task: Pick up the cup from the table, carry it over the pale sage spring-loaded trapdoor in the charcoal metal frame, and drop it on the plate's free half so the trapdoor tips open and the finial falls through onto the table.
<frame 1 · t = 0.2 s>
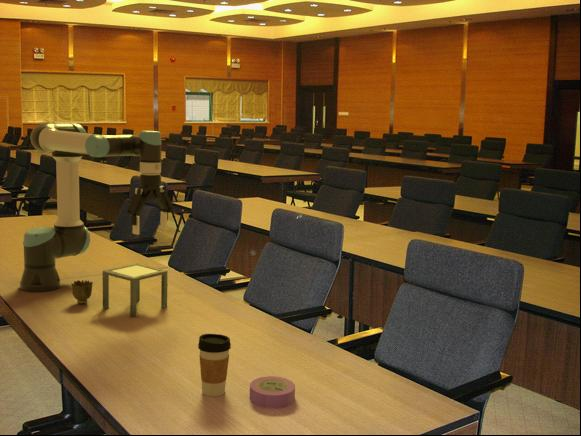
hand: (150, 231, 248), 27 cm above the table, tool pointing down, fingers open, 13 cm apart
masking tape: (272, 399, 176), on the table
coffee cup: (213, 392, 178), on the table
trapdoor: (135, 272, 245), point 13 cm above the table, hinge at -0.6°
cup: (82, 303, 250), on the table
trapdoor frame: (135, 308, 247), on the table
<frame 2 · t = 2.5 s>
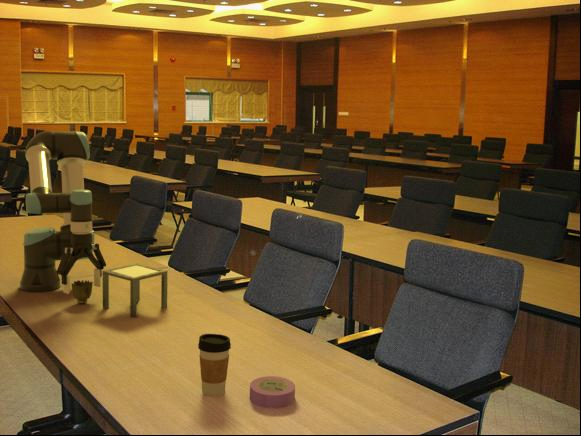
hand: (82, 289, 249), 5 cm above the table, tool pointing down, fingers open, 13 cm apart
trapdoor: (135, 272, 245), point 13 cm above the table, hinge at -1.0°
everything else where it was.
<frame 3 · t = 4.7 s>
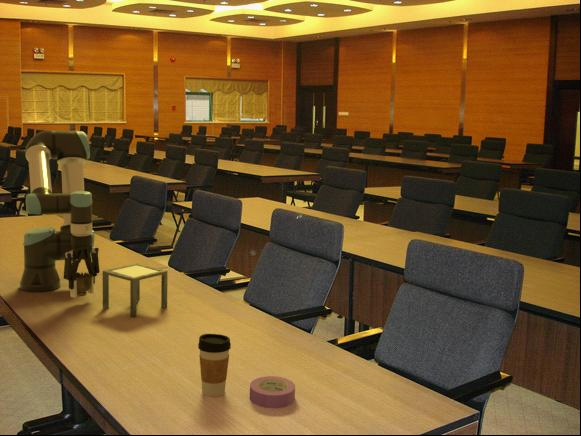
hand: (82, 294, 250), 3 cm above the table, tool pointing down, fingers closed on cup, 7 cm apart
cup: (81, 296, 250), point 3 cm above the table, touching gripper
everything else where it was.
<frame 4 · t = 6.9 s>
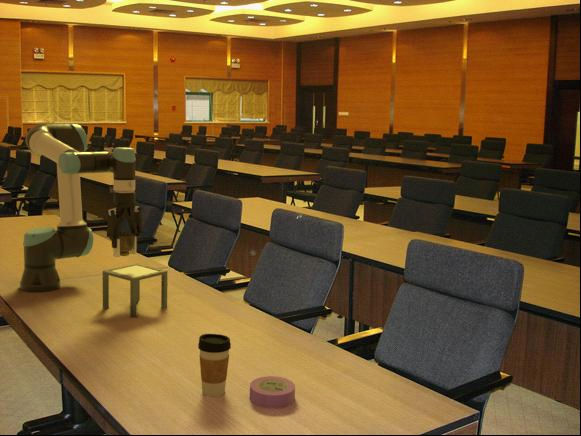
hand: (124, 255, 243), 20 cm above the table, tool pointing down, fingers closed on cup, 7 cm apart
cup: (124, 256, 243), point 19 cm above the table, touching gripper
everything else where it was.
when the fingers open (15 cm above the table, at t = 9.1 s): cup moves 3 cm, point 16 cm above the table.
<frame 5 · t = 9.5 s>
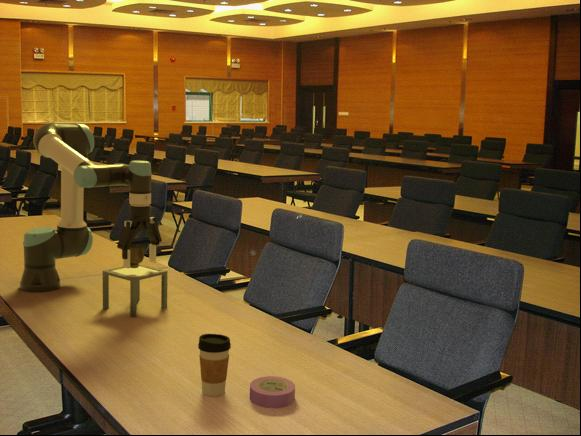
hand: (139, 264, 243), 17 cm above the table, tool pointing down, fingers open, 11 cm apart
cup: (133, 268, 241), point 16 cm above the table, touching gripper
everything else where it was.
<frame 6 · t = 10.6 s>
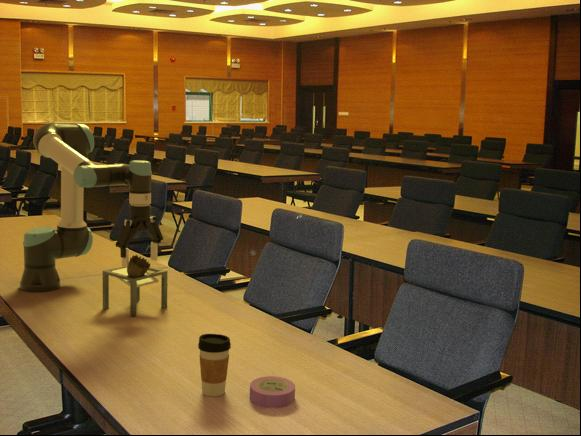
hand: (140, 263, 243), 17 cm above the table, tool pointing down, fingers open, 13 cm apart
trapdoor: (134, 276, 245), point 12 cm above the table, hinge at -16.4°, touching cup
cup: (131, 279, 241), point 12 cm above the table, touching gripper, trapdoor, trapdoor frame
everything else where it was.
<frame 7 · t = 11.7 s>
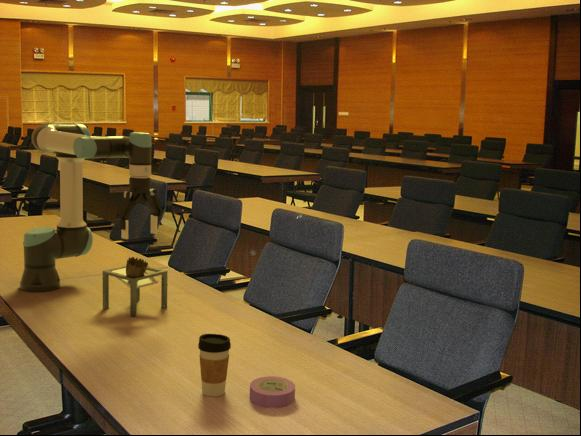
hand: (139, 236, 241), 27 cm above the table, tool pointing down, fingers open, 13 cm apart
trapdoor: (134, 277, 245), point 12 cm above the table, hinge at -18.8°, touching cup
cup: (132, 282, 241), point 11 cm above the table, touching trapdoor, trapdoor frame
everything else where it was.
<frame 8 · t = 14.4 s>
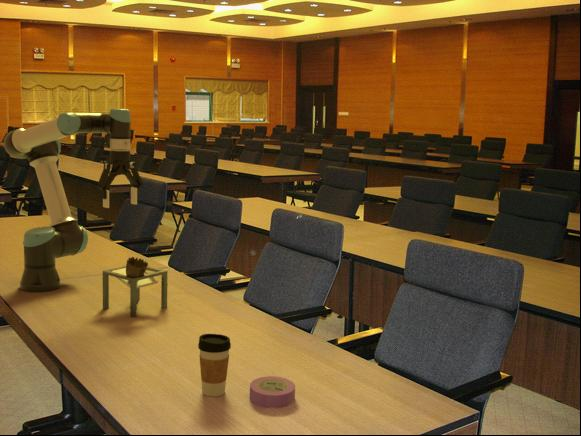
hand: (120, 205, 259), 35 cm above the table, tool pointing down, fingers open, 13 cm apart
nothing on the table moved.
at the end: cup inside the target area on the trapdoor frame (3.9 cm from its centre), point 11.0 cm above the trapdoor frame's base; the gripper is holding nothing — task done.
